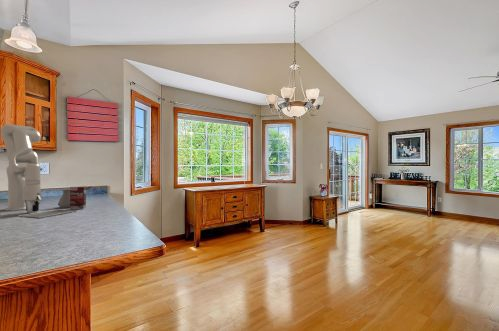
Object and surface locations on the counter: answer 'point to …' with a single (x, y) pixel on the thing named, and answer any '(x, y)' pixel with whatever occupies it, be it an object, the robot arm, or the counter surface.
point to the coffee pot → (66, 199)
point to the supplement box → (77, 198)
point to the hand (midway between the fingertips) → (32, 210)
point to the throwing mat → (46, 214)
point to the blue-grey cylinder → (30, 207)
